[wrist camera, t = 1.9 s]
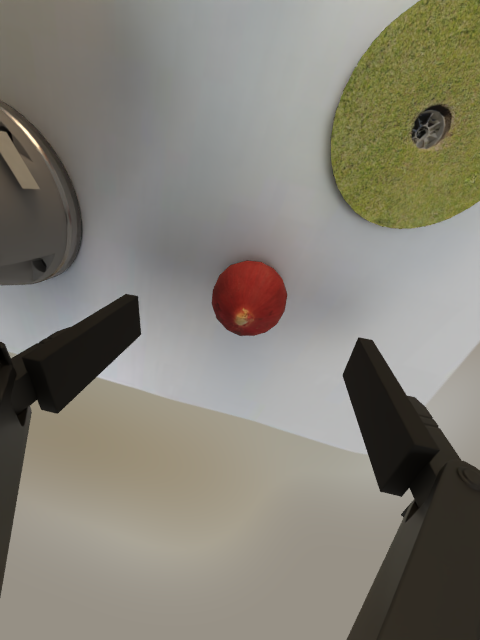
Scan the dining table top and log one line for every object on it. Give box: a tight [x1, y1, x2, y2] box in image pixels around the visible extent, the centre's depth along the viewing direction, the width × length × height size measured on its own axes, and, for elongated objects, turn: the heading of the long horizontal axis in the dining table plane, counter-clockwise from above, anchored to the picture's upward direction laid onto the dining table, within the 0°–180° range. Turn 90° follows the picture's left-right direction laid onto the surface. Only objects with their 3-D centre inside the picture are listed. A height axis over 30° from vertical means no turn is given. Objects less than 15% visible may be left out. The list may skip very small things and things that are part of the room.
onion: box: [212, 260, 287, 336], centre depth 19 cm, size 6×6×8 cm
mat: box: [331, 0, 480, 229], centre depth 15 cm, size 11×11×2 cm
